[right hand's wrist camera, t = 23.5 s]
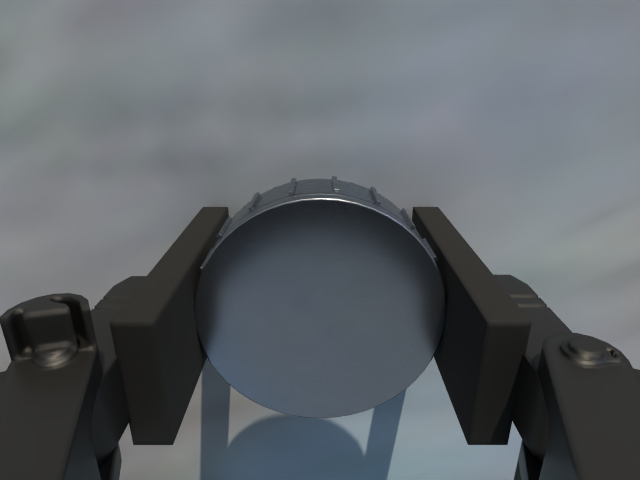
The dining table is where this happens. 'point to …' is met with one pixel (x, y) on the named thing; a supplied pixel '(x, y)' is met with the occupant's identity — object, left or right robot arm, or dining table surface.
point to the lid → (320, 300)
